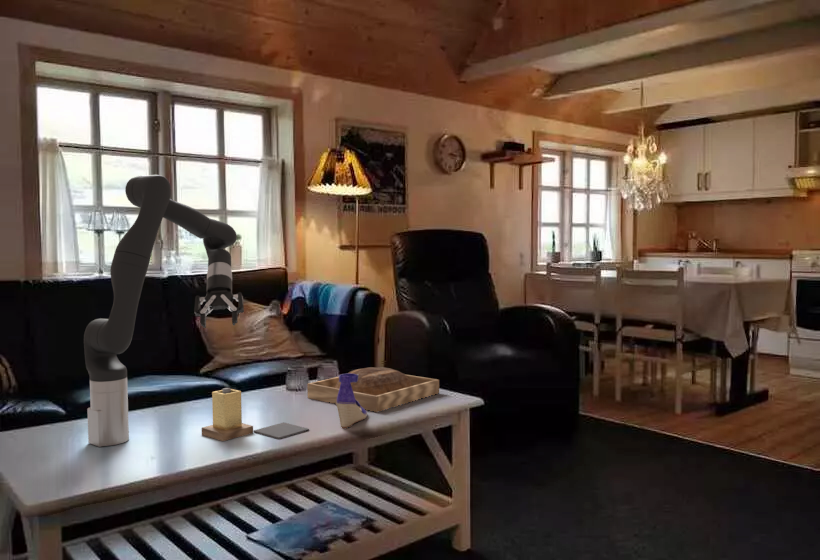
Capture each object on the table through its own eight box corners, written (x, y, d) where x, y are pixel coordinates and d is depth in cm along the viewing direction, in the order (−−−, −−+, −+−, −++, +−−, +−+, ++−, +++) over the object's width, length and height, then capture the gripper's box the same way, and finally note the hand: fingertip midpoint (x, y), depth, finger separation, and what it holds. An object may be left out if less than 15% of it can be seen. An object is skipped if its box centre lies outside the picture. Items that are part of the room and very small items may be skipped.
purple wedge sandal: (374, 413, 210) (373, 365, 209) (352, 430, 191) (351, 378, 190) (349, 411, 212) (349, 364, 212) (325, 428, 193) (324, 376, 192)
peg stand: (223, 441, 181) (222, 394, 180) (201, 434, 187) (200, 389, 186) (253, 433, 188) (252, 388, 188) (231, 427, 195) (230, 383, 194)
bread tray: (376, 412, 211) (376, 396, 210) (307, 397, 231) (307, 383, 231) (439, 393, 236) (439, 379, 236) (372, 382, 256) (372, 369, 256)
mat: (278, 439, 182) (278, 437, 182) (253, 432, 189) (253, 430, 189) (309, 430, 191) (309, 428, 191) (283, 424, 198) (283, 422, 198)
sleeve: (224, 430, 184) (224, 394, 183) (212, 427, 187) (212, 391, 187) (241, 426, 188) (241, 391, 187) (229, 423, 191) (229, 388, 191)
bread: (320, 396, 235) (320, 368, 234) (379, 384, 253) (379, 359, 252) (366, 409, 216) (366, 379, 215) (426, 396, 233) (426, 368, 233)
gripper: (193, 275, 203) (191, 320, 194) (241, 271, 205) (242, 316, 196) (197, 288, 209) (196, 333, 200) (244, 285, 211) (245, 329, 202)
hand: (219, 325), depth 198 cm, fingers open, 8 cm apart
